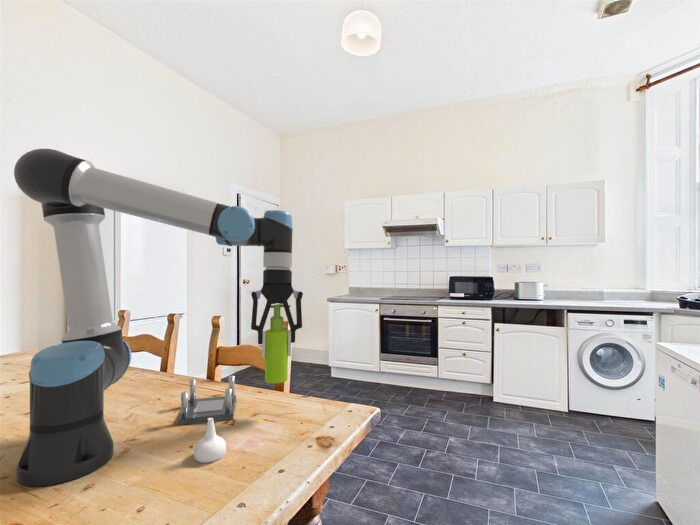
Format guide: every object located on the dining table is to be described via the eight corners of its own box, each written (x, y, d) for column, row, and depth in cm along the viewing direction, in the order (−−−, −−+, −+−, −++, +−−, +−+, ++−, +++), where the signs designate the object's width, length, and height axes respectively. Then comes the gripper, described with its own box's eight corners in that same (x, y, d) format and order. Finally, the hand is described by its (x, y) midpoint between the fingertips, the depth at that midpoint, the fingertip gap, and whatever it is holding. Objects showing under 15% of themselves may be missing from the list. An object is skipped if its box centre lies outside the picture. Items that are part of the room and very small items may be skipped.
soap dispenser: (295, 379, 97) (295, 304, 97) (273, 385, 92) (274, 306, 92) (281, 374, 101) (282, 303, 101) (260, 380, 96) (261, 304, 96)
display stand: (233, 419, 93) (233, 390, 93) (178, 425, 90) (178, 394, 90) (236, 400, 107) (236, 374, 107) (188, 404, 103) (188, 378, 104)
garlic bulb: (215, 468, 71) (218, 428, 71) (186, 463, 72) (189, 423, 72) (231, 452, 77) (234, 415, 77) (204, 447, 78) (207, 410, 78)
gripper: (310, 269, 103) (309, 351, 102) (241, 268, 98) (240, 354, 97) (314, 269, 95) (313, 357, 95) (240, 268, 91) (238, 360, 90)
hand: (276, 355), depth 96 cm, fingers closed on soap dispenser, 6 cm apart
